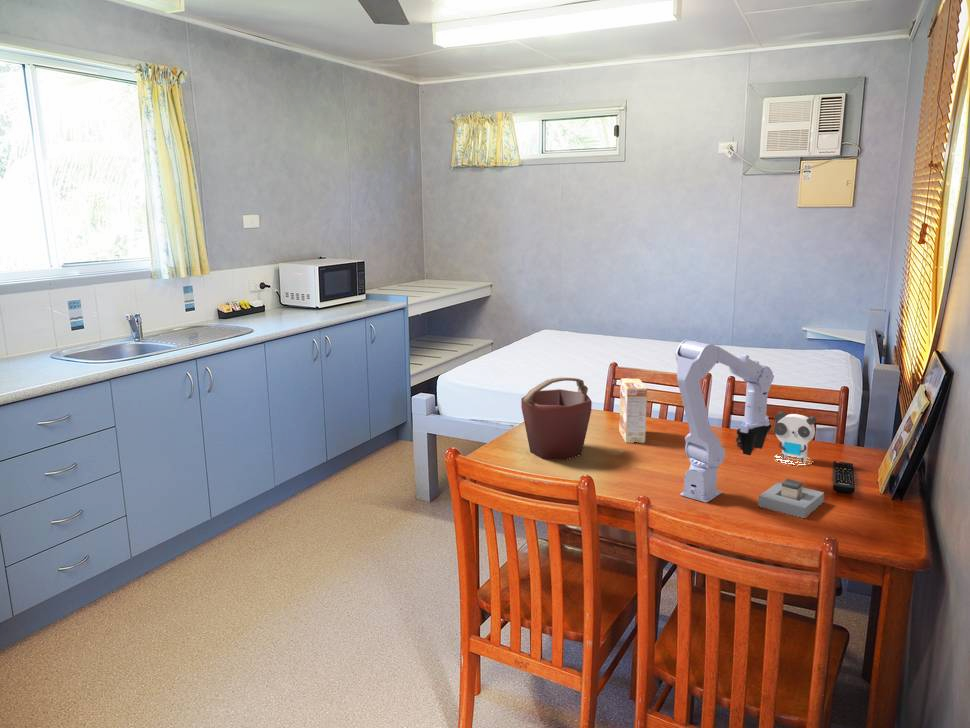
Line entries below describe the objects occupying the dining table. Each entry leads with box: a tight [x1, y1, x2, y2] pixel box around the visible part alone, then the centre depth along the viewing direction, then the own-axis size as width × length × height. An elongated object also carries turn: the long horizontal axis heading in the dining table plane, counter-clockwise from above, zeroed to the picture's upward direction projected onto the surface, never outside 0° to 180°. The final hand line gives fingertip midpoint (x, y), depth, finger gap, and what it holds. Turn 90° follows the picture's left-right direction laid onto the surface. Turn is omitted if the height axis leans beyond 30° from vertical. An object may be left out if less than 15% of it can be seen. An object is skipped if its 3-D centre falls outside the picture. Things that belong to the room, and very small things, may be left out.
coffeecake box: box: [618, 377, 648, 444], centre depth 248 cm, size 15×7×20 cm, turn 178°
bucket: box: [520, 376, 593, 461], centre depth 231 cm, size 24×22×25 cm
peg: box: [781, 478, 804, 501], centre depth 189 cm, size 4×4×6 cm
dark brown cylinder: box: [735, 427, 742, 449], centre depth 241 cm, size 6×5×15 cm
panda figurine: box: [774, 411, 817, 467], centre depth 223 cm, size 12×11×15 cm
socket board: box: [757, 481, 825, 519], centre depth 190 cm, size 14×12×3 cm
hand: (752, 451), depth 205 cm, fingers open, 7 cm apart
